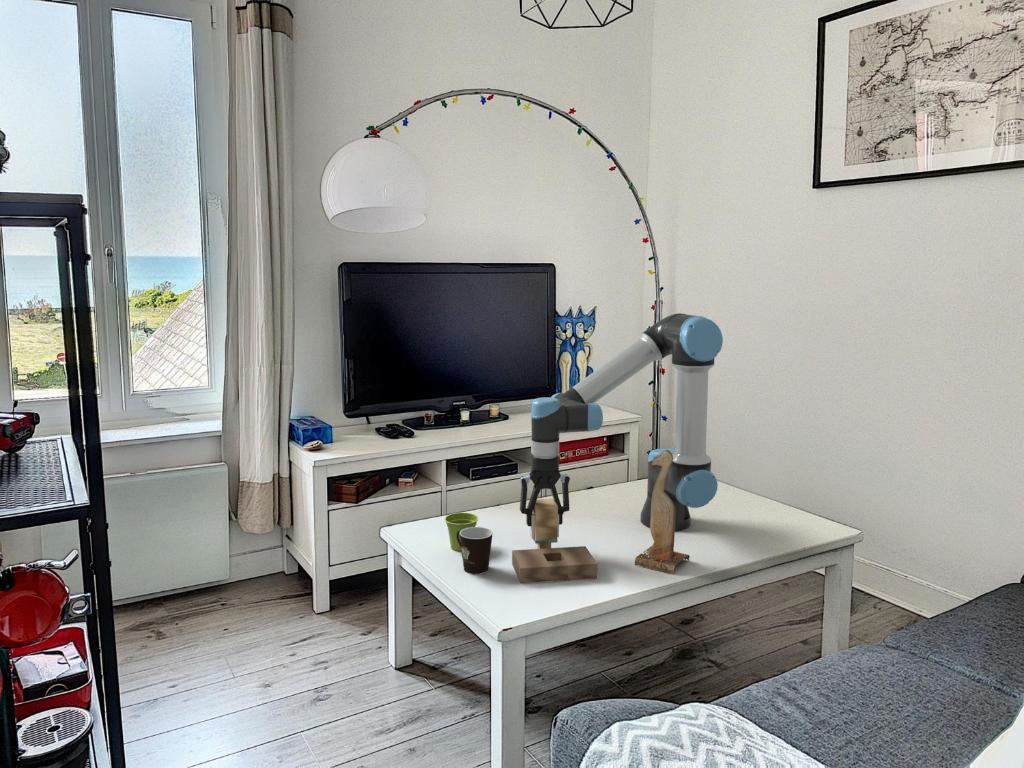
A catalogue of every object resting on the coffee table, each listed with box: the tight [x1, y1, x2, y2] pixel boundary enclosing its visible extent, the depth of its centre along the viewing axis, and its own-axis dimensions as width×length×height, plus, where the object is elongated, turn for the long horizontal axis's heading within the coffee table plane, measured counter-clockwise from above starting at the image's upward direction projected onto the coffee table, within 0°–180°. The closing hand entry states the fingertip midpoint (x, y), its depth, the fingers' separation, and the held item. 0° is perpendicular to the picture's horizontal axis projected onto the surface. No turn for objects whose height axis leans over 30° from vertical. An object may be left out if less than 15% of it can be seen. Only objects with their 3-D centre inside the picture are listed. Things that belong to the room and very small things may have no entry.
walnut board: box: [511, 545, 599, 584], centre depth 204 cm, size 20×12×4 cm, turn 100°
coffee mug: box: [456, 526, 494, 575], centre depth 206 cm, size 12×9×10 cm
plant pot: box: [444, 512, 479, 552], centre depth 220 cm, size 9×9×9 cm
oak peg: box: [532, 498, 558, 549], centre depth 216 cm, size 6×6×14 cm
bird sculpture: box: [634, 448, 690, 575], centre depth 208 cm, size 11×12×32 cm
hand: (544, 536), depth 216 cm, fingers closed on oak peg, 6 cm apart
